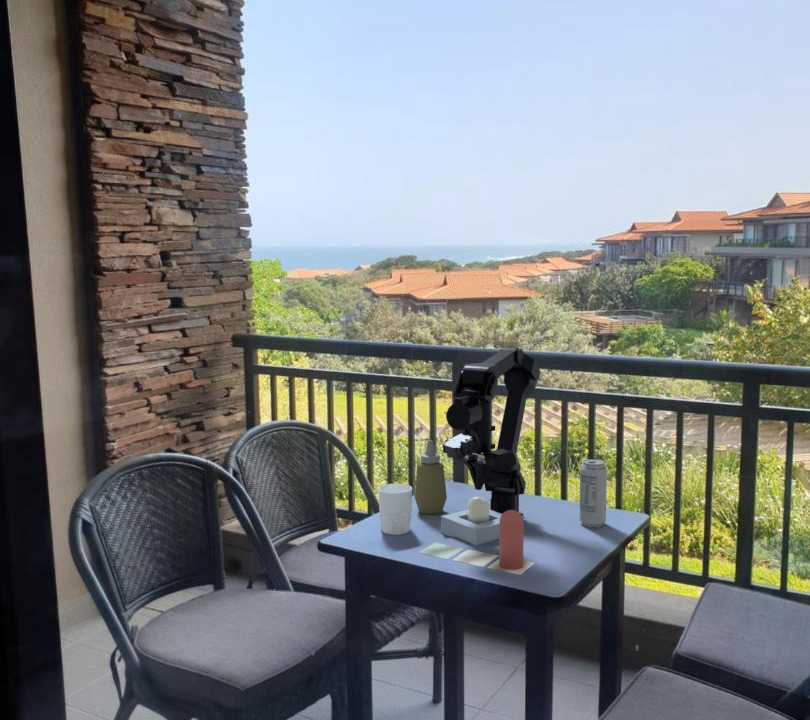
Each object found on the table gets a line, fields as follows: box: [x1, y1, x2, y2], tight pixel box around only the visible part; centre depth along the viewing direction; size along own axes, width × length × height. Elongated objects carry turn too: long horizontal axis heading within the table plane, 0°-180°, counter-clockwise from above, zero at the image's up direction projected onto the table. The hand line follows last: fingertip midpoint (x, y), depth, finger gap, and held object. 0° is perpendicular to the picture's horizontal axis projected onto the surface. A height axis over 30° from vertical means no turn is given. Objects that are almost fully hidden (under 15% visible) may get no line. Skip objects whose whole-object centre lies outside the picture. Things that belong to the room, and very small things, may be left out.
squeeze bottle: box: [413, 439, 448, 515], centre depth 197 cm, size 8×8×18 cm
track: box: [418, 541, 535, 576], centre depth 165 cm, size 25×8×1 cm, turn 58°
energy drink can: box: [579, 458, 608, 528], centre depth 186 cm, size 6×6×15 cm
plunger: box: [466, 495, 490, 524], centre depth 180 cm, size 5×5×6 cm
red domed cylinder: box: [498, 510, 525, 570], centre depth 160 cm, size 5×5×11 cm
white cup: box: [377, 483, 413, 536], centre depth 184 cm, size 8×8×10 cm
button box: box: [440, 508, 502, 546], centre depth 180 cm, size 12×12×4 cm
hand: (478, 489), depth 179 cm, fingers closed
